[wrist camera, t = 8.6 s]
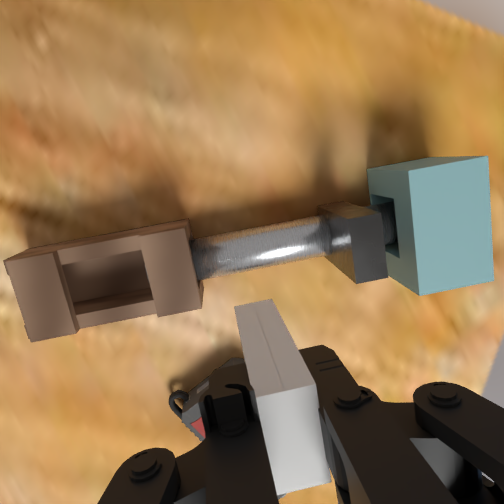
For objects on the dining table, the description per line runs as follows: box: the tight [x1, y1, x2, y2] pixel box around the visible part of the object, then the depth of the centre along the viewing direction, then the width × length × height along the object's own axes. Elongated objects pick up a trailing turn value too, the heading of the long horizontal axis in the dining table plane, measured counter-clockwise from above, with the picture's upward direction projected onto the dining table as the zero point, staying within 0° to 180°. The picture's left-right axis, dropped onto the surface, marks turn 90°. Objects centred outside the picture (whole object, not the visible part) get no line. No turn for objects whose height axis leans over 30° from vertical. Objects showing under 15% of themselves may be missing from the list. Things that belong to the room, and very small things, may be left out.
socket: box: [367, 156, 494, 296], centre depth 29 cm, size 5×8×7 cm, turn 10°
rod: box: [144, 201, 398, 284], centre depth 28 cm, size 20×4×8 cm, turn 100°
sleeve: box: [3, 219, 204, 342], centre depth 29 cm, size 12×6×5 cm, turn 100°
